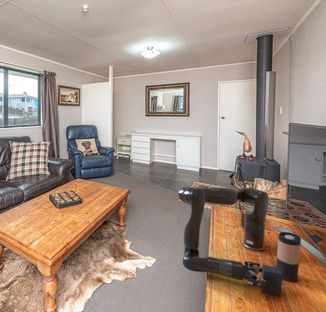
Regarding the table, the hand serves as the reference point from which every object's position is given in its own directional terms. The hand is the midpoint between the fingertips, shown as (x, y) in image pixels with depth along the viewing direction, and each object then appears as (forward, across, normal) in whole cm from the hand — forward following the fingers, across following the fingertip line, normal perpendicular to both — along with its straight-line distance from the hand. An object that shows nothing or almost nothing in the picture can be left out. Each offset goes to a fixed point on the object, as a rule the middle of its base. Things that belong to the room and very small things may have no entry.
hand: (275, 278), depth 96 cm
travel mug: (+6, +13, +6) cm, 16 cm away
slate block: (-1, 0, +6) cm, 6 cm away
